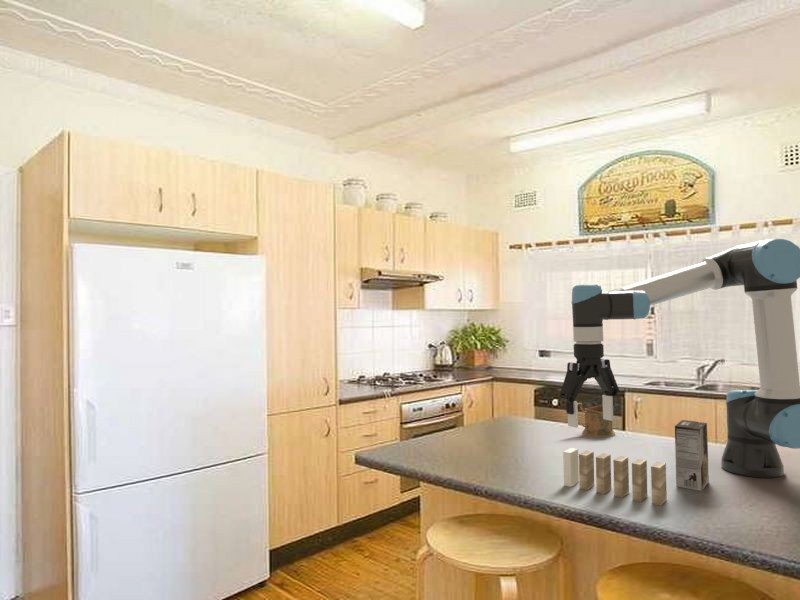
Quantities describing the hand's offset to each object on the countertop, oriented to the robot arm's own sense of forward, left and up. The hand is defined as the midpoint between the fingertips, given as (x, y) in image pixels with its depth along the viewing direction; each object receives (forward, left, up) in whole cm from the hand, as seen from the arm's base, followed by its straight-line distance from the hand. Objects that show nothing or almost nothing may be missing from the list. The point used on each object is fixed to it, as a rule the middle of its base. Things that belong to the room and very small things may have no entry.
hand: (591, 423), depth 144 cm
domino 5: (-12, 0, -17) cm, 21 cm away
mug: (+23, -59, -17) cm, 66 cm away
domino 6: (-17, 0, -17) cm, 24 cm away
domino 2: (+1, 0, -17) cm, 17 cm away
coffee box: (-20, -19, -17) cm, 32 cm away
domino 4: (-8, 0, -17) cm, 19 cm away
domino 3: (-3, 0, -17) cm, 17 cm away
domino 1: (+6, 0, -17) cm, 18 cm away
